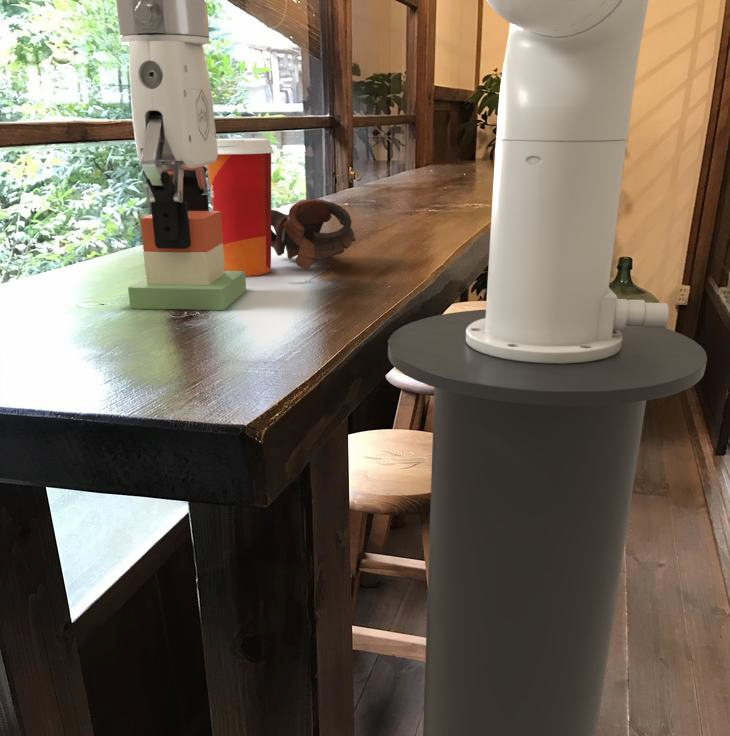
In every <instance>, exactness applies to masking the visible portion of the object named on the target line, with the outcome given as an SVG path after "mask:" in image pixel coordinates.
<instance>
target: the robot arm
mask: <svg viewBox="0 0 730 736" xmlns="http://www.w3.org/2000/svg"><path fill="white" fill-rule="evenodd" d="M485 2H486V3H487V4H488V6H489V7H490V8H491V9H492V10H493V11H494V12H495V14H496V15H498V16H499V17H501V19H503V20H504V21H506V22H508V23H509V28H508V37H507V42H506V47H505V54H504V59H503V65H502V72H501V78H500V86H499V87H500V88H499V95H498V97H499V98H498V108H497V122H496V139H495V151H494V166H493V167H494V169H493V182H492V183H493V185H492V199H491V200H492V201H491V202H492V203H491V205H492V206H491V218H490V233H489V234H490V236H489V251H488V253H489V254H488V268H487V269H488V271H487V285H486V286H487V287H486V302H485V303H486V304H485V310H486V318H483V319H480V320H477V321H475V322H473V323H471V324H470V325H469V326H468V327H467V329H466V342H467V344H468V345H469V346H470V347H471V348H473V349H474V350H476V351H478V352H480V353H483V354H486V355H489V356H492V357H496V358H501V359H505V360H511V361H518V362H527V363H539V364H574V363H585V362H592V361H597V360H602V359H605V358H608V357H611V356H613V355H615V354H616V353H618V352H619V351H620V349H621V346H622V338H623V336H622V334H621V332H620V331H624V329H625V327H626V326H641V327H650V328H667V327H666V326H667V325H668V321H669V316H670V308H669V304H668V302H646V301H645V299H627V298H618V296H617V294H615V292H614V291H613V290H612V289H611V288H610V279H611V271H612V265H613V264H612V263H613V256H614V255H613V254H614V246H615V238H616V232H617V231H616V229H617V221H618V214H619V207H620V206H619V205H620V196H621V188H622V182H623V181H622V180H623V172H624V164H625V157H626V146H627V140H628V136H629V129H630V128H629V127H630V119H631V110H632V102H633V97H634V96H633V95H634V88H635V80H636V75H637V74H636V73H637V68H638V62H639V61H638V60H639V56H640V55H639V54H640V48H641V44H642V37H643V32H644V26H645V21H646V16H647V12H648V11H647V10H648V4H649V0H485ZM115 3H116V8H117V9H116V11H117V20H118V27H119V36H120V44H121V45H123V46H125V47H126V46H127V47H128V68H129V70H128V73H129V87H130V89H129V91H130V103H131V104H130V105H131V116H132V117H131V118H132V128H133V134H134V143H135V147H136V148H135V149H136V153H137V154H136V155H137V158H138V161H139V162H140V163H141V164H140V165H141V167H142V171H143V172H144V174H145V180H146V181H145V182H146V183H147V185H148V201H149V202H150V211H151V214H152V220H153V229H154V239H155V245H156V247H157V248H166V249H187V248H189V247H190V245H191V240H190V229H189V218H188V211H210V207H209V195H208V183H207V177H206V173H207V168H206V167H207V165H210V164H212V163H214V162H215V161H216V159H217V157H218V149H217V139H218V138H217V129H216V122H215V113H214V105H213V95H212V89H211V82H210V74H209V69H208V68H209V67H208V63H207V58H206V54H205V50H204V48H205V47H209V46H210V45H211V43H210V29H209V15H208V3H207V0H115ZM171 176H172V177H171Z"/></svg>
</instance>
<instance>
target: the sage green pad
mask: <svg viewBox="0 0 730 736" xmlns="http://www.w3.org/2000/svg"><path fill="white" fill-rule="evenodd" d="M246 291H247V282H246V276H245V271H225V274H224V275H222V276H221V277H219V278H218V279H217V280H215V281H214V282H213V283H211V284H210V285H158V284H147V280H146V277H144V278H142V279H141V280H139V281H137V282H135V283H133V284H131V285H130V286H128V287H127V292H128V299H129V300H128V301H129V307H130V309H131V310H174V311H175V310H177V311H178V310H179V311H184V310H185V311H225V310H226V309H228V308H229V307H230V306H231V305H233V303H234V302H235V301H236V300H238V298H240V297H241V296H242V295H243V294H244V293H245V292H246Z"/></svg>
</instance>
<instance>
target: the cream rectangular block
mask: <svg viewBox="0 0 730 736" xmlns="http://www.w3.org/2000/svg"><path fill="white" fill-rule="evenodd" d="M142 254H143V262H144V270H145V278H146V280H147V284H158V285H210V284H211V283H213V282H214V281H215V280H217V279H218V278H219V277H221V276H222V275H224V274H225V266H224V253H223V243H221V244H219V245H218V246H216V247H214V248H213V249H211V250H209V251H208V252H144V251H143V252H142Z"/></svg>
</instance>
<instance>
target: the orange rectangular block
mask: <svg viewBox="0 0 730 736" xmlns="http://www.w3.org/2000/svg"><path fill="white" fill-rule="evenodd" d="M188 218H189V229H190V240H191V245H190V247H189V248H187V249H166V248H157V247H156V245H155V239H154V229H153V220H152V213H150V214H148V215H145V216H142V217H140V218H139V224H140V232H141V241H142V242H141V243H142V248H143V249H142V250H143V252H208V251H209V250H211V249H213V248H214V247H216V246H218V245H219V244H221V243H223V237H222V224H221V212H220V211H213V210H209V211H188Z"/></svg>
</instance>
